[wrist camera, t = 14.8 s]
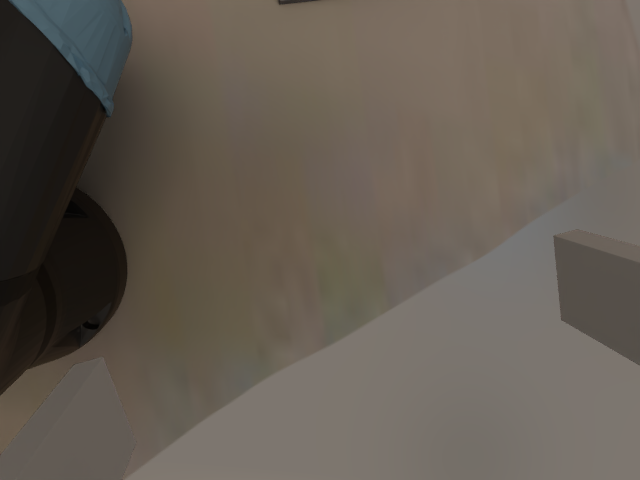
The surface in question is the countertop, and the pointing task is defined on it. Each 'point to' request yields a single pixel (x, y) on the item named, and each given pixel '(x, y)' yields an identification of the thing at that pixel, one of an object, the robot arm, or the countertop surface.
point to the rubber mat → (292, 1)
